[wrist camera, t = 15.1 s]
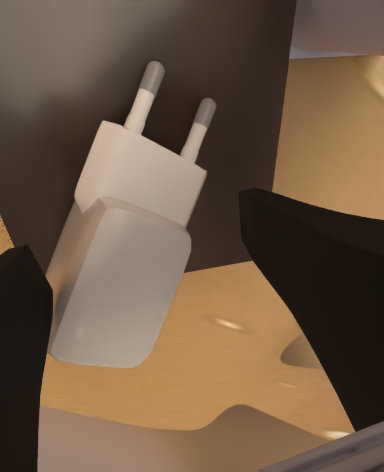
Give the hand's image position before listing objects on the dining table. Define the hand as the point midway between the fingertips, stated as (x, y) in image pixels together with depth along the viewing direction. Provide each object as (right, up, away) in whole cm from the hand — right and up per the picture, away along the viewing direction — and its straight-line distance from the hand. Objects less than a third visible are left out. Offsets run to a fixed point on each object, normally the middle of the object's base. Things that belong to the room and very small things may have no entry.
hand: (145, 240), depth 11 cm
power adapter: (-2, +2, +5) cm, 6 cm away
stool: (-2, +6, +8) cm, 10 cm away
